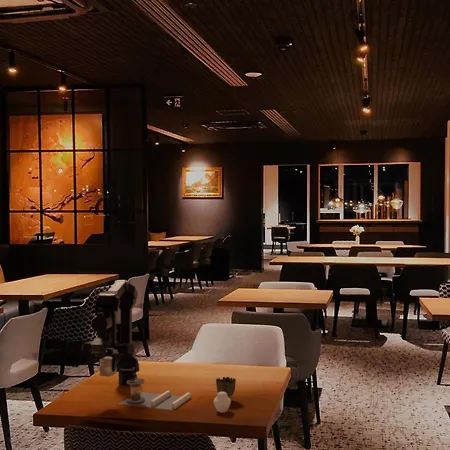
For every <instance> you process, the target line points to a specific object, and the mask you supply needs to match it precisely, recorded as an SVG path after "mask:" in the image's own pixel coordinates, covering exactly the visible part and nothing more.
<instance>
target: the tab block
mask: <svg viewBox="0 0 450 450" xmlns="http://www.w3.org/2000/svg"><path fill="white" fill-rule="evenodd" d="M117 373H118V372H117V367H116V370H115V372H112V356H105V357H104V358H102V359H100V365H99V376H100V377H108V378H110V377H112V376H114V375H117Z"/></svg>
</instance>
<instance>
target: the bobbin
mask: <svg viewBox="0 0 450 450" xmlns="http://www.w3.org/2000/svg"><path fill="white" fill-rule="evenodd" d="M127 384H129V385H128V386H130V396H129V397H128V398H126V399H127V402H128V403H130V404H139V403H143V402H144V401H145V398H144V397H141V392H142V388H141V386H142V385H143V384H145V378H140V377H137V378H132V379H128V380H127Z"/></svg>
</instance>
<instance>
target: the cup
mask: <svg viewBox="0 0 450 450" xmlns="http://www.w3.org/2000/svg"><path fill="white" fill-rule="evenodd" d="M236 382H237V379H236V378H234V377H230V376H226V377H225V376H223V377H222V378H220V377H218V378H215V384H216V385H215V386H216V390H217V394H218V393H219V392H226V393H227V396H228V398H230V400H231V399H232V396H233V395H234V394H235V391H236ZM231 401H232V400H231Z"/></svg>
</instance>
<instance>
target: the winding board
mask: <svg viewBox="0 0 450 450" xmlns="http://www.w3.org/2000/svg"><path fill="white" fill-rule="evenodd" d="M141 397H144V398H145V401H144V402H143V403H139V404H130V403H128V402H127V398H126V399H124V400H122V401H121V402H119V403H118V405H123V406H134V407H142V408H151V409H160V410H168V411H175V410H176V409H178V408H179V407H180V406H182V405H183V404H184V403H186V402H188V401H189V400H191V399H192V397H191V392H186V393H185V394H183V395H172V394H171V390H166V391H164V392H163V393H155V392H144V391H141Z"/></svg>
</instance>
